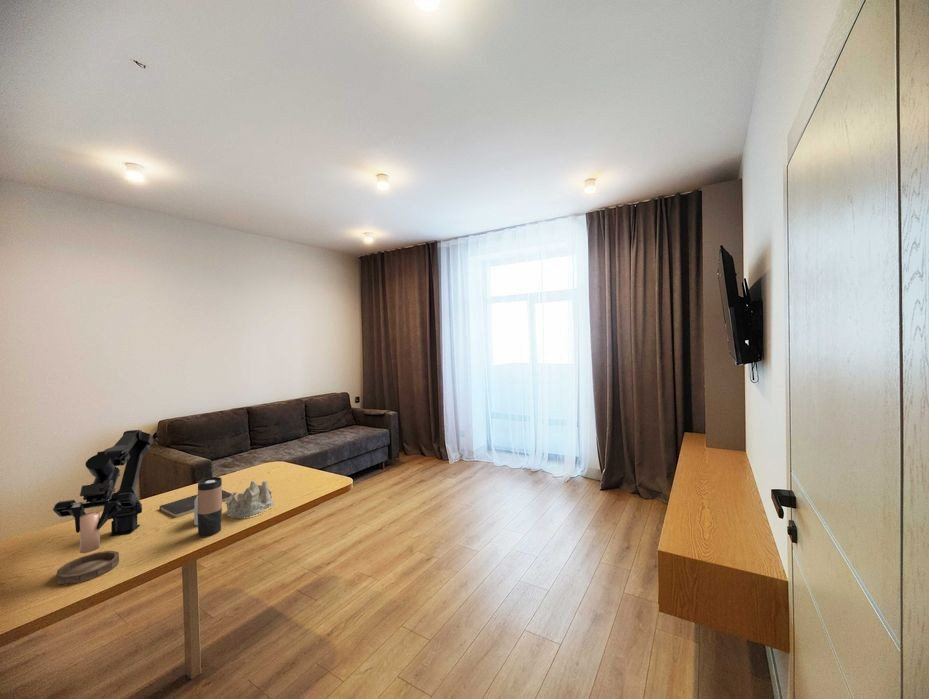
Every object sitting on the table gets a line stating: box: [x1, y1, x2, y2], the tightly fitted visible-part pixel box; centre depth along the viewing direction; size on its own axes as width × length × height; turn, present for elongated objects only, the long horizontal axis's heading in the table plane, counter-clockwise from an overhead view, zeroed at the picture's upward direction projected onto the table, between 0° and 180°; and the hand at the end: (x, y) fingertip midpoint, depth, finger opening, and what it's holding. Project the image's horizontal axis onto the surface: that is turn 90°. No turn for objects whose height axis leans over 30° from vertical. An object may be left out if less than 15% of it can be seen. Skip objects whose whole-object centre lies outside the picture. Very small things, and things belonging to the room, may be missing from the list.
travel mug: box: [197, 476, 223, 538], centre depth 136 cm, size 8×8×20 cm
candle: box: [79, 511, 101, 554], centre depth 112 cm, size 4×4×11 cm
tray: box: [55, 550, 120, 585], centre depth 112 cm, size 14×14×2 cm
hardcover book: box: [159, 489, 232, 518], centre depth 161 cm, size 16×23×2 cm
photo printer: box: [193, 496, 198, 526], centre depth 146 cm, size 10×4×12 cm, turn 12°
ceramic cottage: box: [225, 480, 275, 519], centre depth 155 cm, size 16×16×15 cm
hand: (87, 530), depth 111 cm, fingers closed on candle, 4 cm apart
